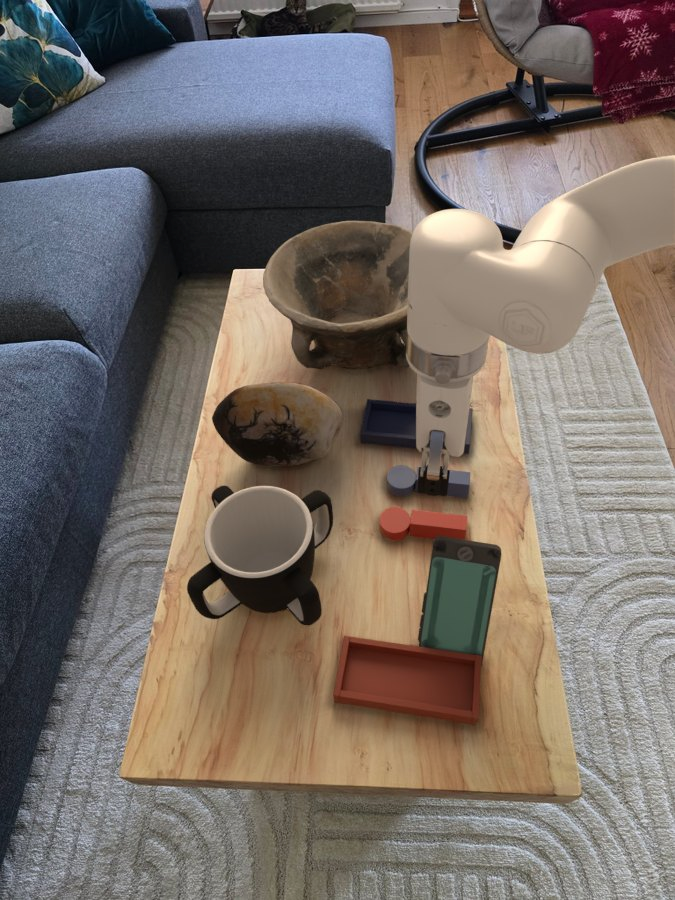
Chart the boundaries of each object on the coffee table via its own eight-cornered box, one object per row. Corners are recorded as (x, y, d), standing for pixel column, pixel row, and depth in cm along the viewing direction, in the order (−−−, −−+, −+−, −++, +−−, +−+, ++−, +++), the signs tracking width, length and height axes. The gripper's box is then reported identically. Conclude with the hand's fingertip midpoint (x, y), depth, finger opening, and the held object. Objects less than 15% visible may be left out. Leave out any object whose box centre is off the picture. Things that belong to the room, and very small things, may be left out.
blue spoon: (468, 480, 93) (470, 466, 90) (467, 504, 90) (469, 490, 88) (388, 471, 94) (388, 458, 92) (384, 494, 92) (384, 481, 89)
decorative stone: (345, 434, 99) (339, 359, 87) (345, 483, 93) (339, 409, 82) (226, 438, 100) (205, 364, 88) (219, 487, 94) (195, 414, 83)
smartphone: (502, 550, 70) (481, 670, 75) (502, 545, 72) (481, 663, 77) (431, 539, 72) (415, 657, 77) (432, 534, 73) (416, 651, 78)
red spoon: (465, 522, 88) (467, 509, 86) (463, 549, 86) (465, 536, 83) (381, 513, 90) (381, 500, 88) (377, 538, 87) (377, 525, 85)
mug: (232, 517, 91) (214, 462, 82) (349, 536, 88) (344, 480, 79) (189, 630, 81) (163, 581, 72) (319, 655, 78) (310, 607, 69)
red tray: (479, 663, 76) (481, 655, 75) (476, 725, 72) (478, 718, 70) (345, 643, 79) (344, 635, 77) (334, 702, 74) (333, 695, 73)
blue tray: (471, 418, 100) (472, 408, 98) (468, 454, 95) (470, 444, 94) (367, 408, 102) (367, 398, 100) (360, 443, 98) (359, 433, 96)
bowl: (292, 287, 122) (281, 212, 110) (440, 294, 118) (446, 217, 107) (258, 395, 105) (242, 319, 94) (430, 406, 102) (436, 329, 90)
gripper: (483, 415, 57) (464, 526, 71) (491, 288, 68) (474, 405, 81) (395, 407, 59) (393, 517, 72) (416, 283, 69) (411, 399, 82)
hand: (436, 457), depth 77 cm, fingers open, 9 cm apart
